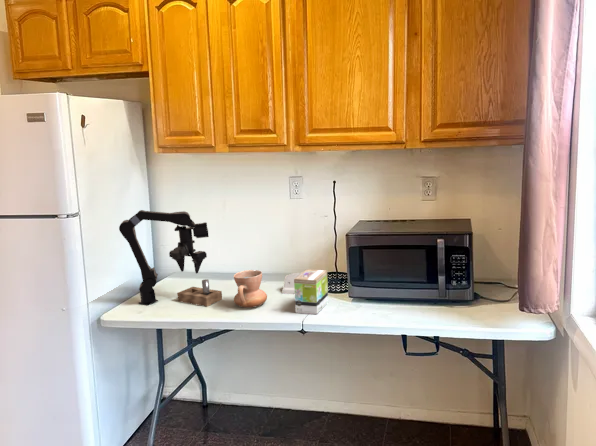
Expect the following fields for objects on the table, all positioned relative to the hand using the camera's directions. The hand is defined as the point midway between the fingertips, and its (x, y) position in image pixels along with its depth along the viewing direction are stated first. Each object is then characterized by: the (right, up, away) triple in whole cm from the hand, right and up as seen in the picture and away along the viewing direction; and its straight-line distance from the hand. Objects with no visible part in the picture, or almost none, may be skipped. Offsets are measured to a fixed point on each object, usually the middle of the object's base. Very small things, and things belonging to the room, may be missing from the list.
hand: (189, 272), depth 251 cm
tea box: (+56, -13, -23) cm, 62 cm away
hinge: (+52, -9, 0) cm, 52 cm away
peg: (+9, -13, -6) cm, 17 cm away
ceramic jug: (+29, -13, -14) cm, 35 cm away
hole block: (+5, -12, -3) cm, 14 cm away
